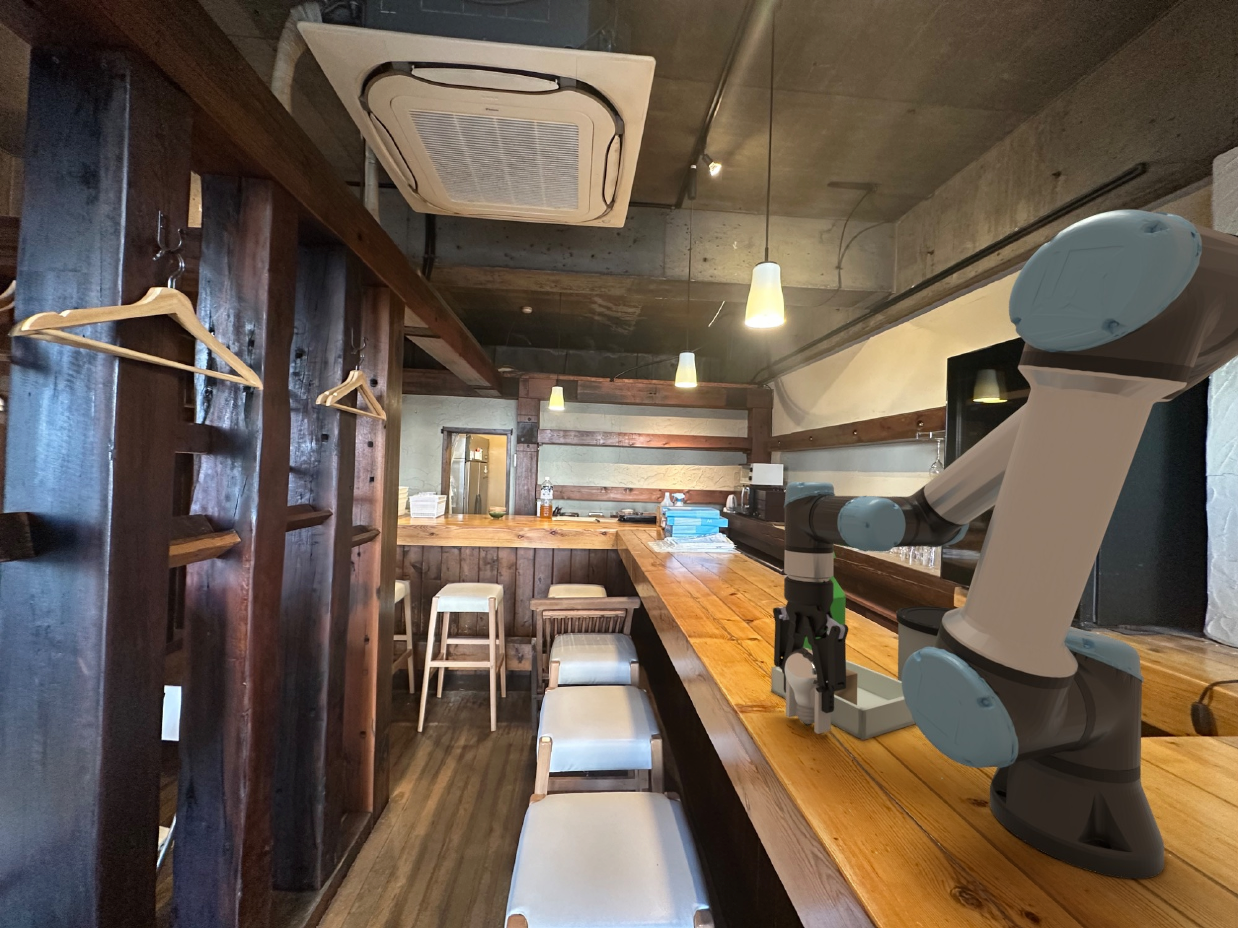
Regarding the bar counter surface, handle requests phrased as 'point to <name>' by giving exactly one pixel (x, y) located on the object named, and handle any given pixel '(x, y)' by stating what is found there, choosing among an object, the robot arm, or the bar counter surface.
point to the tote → (864, 703)
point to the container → (917, 630)
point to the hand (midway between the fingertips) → (807, 722)
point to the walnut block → (849, 688)
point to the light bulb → (803, 682)
